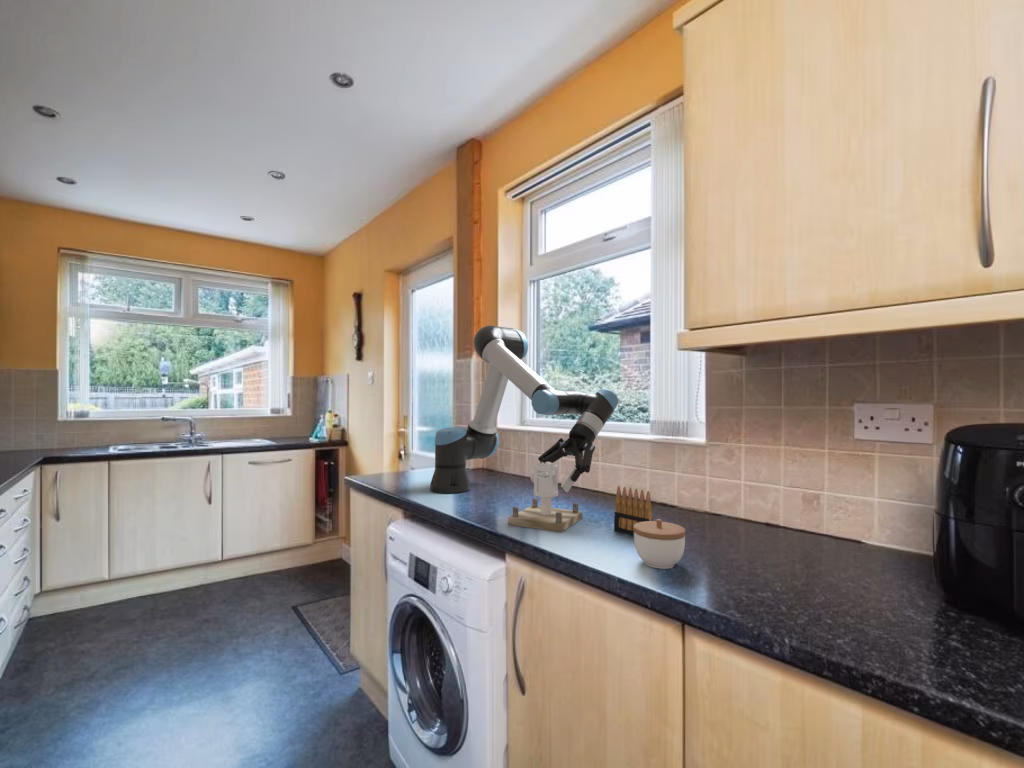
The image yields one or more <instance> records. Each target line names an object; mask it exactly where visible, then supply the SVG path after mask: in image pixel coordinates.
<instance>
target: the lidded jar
mask: <svg viewBox="0 0 1024 768" xmlns="http://www.w3.org/2000/svg"><path fill="white" fill-rule="evenodd" d="M633 531H634V536H633V541H634V546H635V547H634V548H635V550H636V553H637V555H638V556H639V558H640V559H641V560H642V561H643V562H644V564H645V565H646V566H647V567H650V568H653V569H658V568H659V570H660V569H661V570H669V569H672V568H674V567H675V565H677V563H678V562H679V561H680V560H681V559H682V556H683V554H684V551H685V545H686V534H687V533H686V531H687V530H686V529H685V527H683V526H681V525H680V524H676V523H672V522H667V521H662V519H660V518H658V519H657V518H656V520H653V521H644V522H639V523H636V524H634V526H633Z"/></svg>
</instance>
